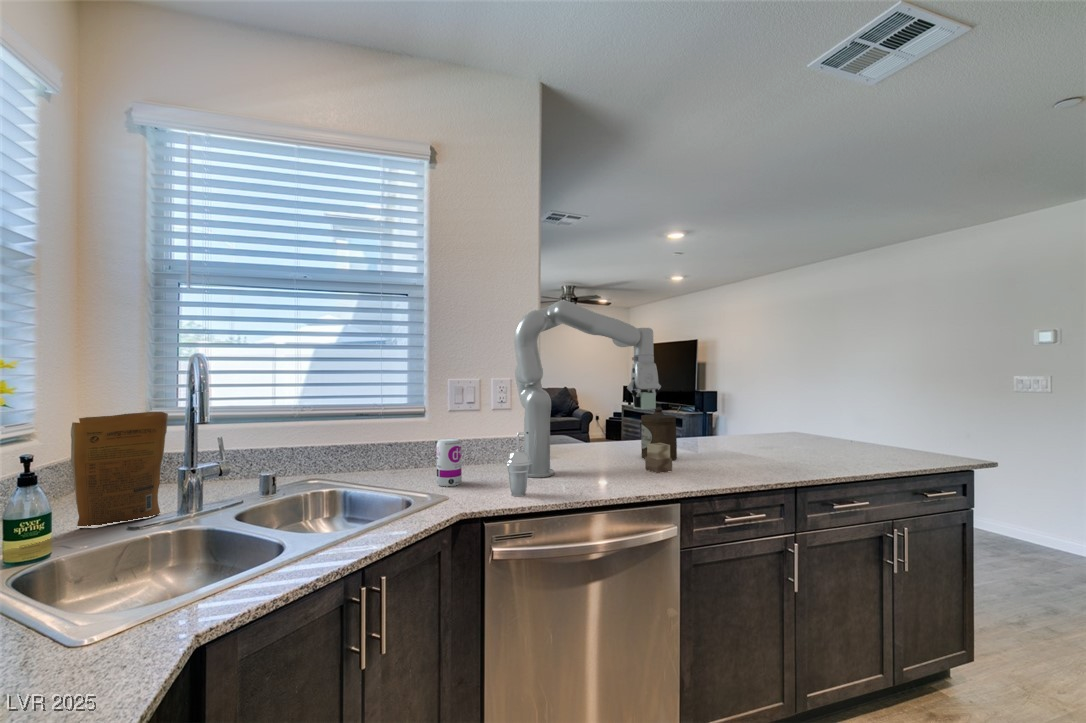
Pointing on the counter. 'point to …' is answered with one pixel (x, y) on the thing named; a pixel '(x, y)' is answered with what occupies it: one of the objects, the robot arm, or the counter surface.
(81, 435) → the pancake mix bag
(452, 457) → the supplement can
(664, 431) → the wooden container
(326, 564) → the counter surface
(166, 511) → the counter surface
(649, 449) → the oak upper block
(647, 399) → the sage cube
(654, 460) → the walnut base block
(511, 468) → the cup with straw
